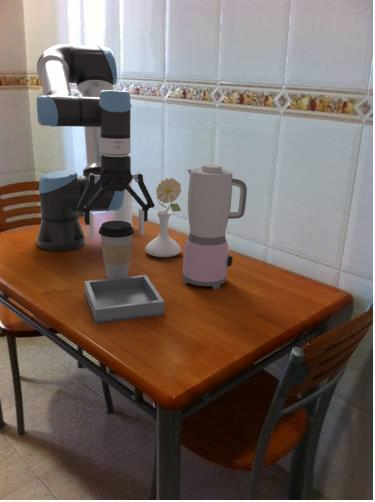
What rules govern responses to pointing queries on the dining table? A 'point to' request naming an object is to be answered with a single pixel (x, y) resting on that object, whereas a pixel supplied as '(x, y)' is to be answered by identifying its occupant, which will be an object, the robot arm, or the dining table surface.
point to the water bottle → (124, 209)
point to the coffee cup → (116, 247)
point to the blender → (210, 224)
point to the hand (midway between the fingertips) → (116, 234)
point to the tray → (123, 299)
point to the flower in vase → (165, 220)
